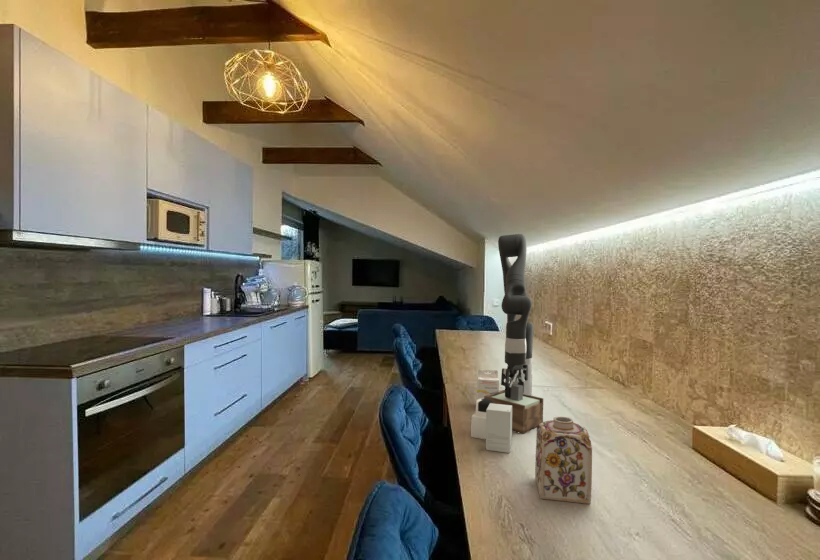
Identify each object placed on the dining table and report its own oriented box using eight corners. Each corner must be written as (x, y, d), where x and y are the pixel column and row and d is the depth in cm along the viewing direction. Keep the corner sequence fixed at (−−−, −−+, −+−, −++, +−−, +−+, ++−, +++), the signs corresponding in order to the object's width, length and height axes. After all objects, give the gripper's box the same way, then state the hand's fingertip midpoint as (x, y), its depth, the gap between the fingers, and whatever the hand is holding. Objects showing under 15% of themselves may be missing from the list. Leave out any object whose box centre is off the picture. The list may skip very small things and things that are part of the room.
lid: (506, 394, 167) (506, 379, 167) (539, 402, 157) (540, 386, 157) (489, 400, 159) (489, 383, 159) (523, 409, 149) (523, 391, 149)
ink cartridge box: (477, 408, 176) (477, 371, 176) (476, 404, 181) (477, 369, 181) (498, 409, 175) (499, 372, 175) (497, 405, 180) (498, 369, 180)
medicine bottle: (497, 434, 147) (498, 398, 147) (492, 441, 141) (492, 404, 140) (476, 430, 150) (477, 395, 150) (470, 437, 144) (471, 400, 143)
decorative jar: (591, 505, 102) (593, 428, 102) (540, 500, 104) (541, 424, 104) (581, 482, 113) (582, 413, 113) (534, 477, 115) (536, 409, 115)
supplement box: (512, 444, 138) (513, 405, 138) (509, 453, 131) (510, 411, 131) (488, 441, 140) (489, 402, 140) (485, 450, 133) (486, 408, 133)
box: (504, 414, 169) (505, 389, 169) (542, 424, 157) (543, 398, 157) (483, 422, 159) (484, 396, 159) (522, 433, 147) (523, 406, 147)
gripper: (516, 347, 165) (515, 389, 165) (495, 351, 155) (494, 396, 155) (534, 349, 160) (533, 393, 160) (514, 354, 150) (513, 401, 150)
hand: (514, 395), depth 158 cm, fingers open, 8 cm apart
